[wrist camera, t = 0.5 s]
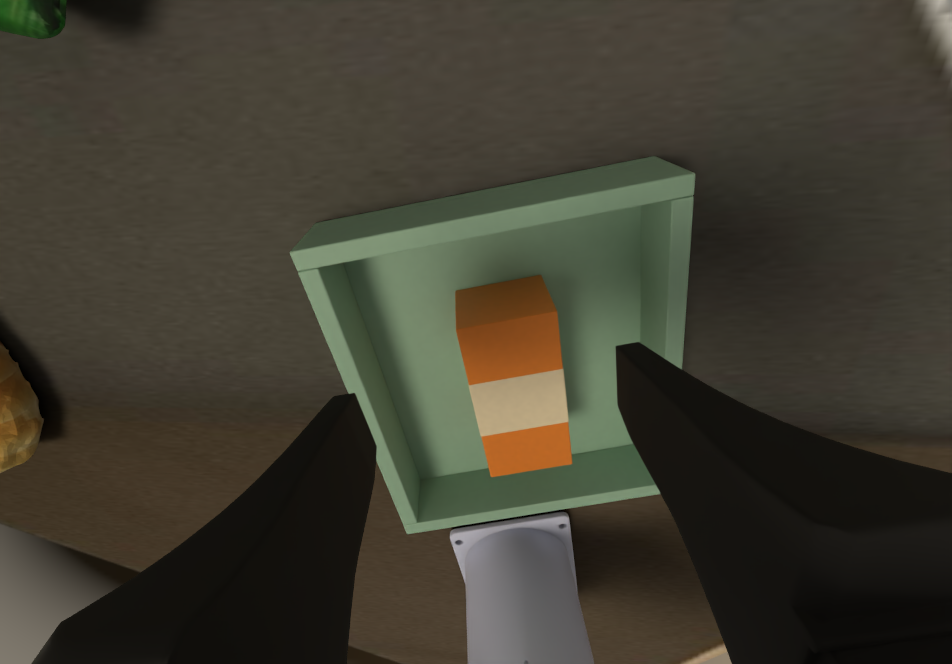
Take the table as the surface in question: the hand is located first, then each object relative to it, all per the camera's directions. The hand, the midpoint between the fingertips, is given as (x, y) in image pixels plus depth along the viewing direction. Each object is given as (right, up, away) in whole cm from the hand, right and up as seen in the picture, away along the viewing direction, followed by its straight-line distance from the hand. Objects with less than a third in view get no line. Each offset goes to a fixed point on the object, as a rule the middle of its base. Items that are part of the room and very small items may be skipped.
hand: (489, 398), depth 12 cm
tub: (+1, +1, +11) cm, 11 cm away
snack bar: (+1, 0, +10) cm, 10 cm away
